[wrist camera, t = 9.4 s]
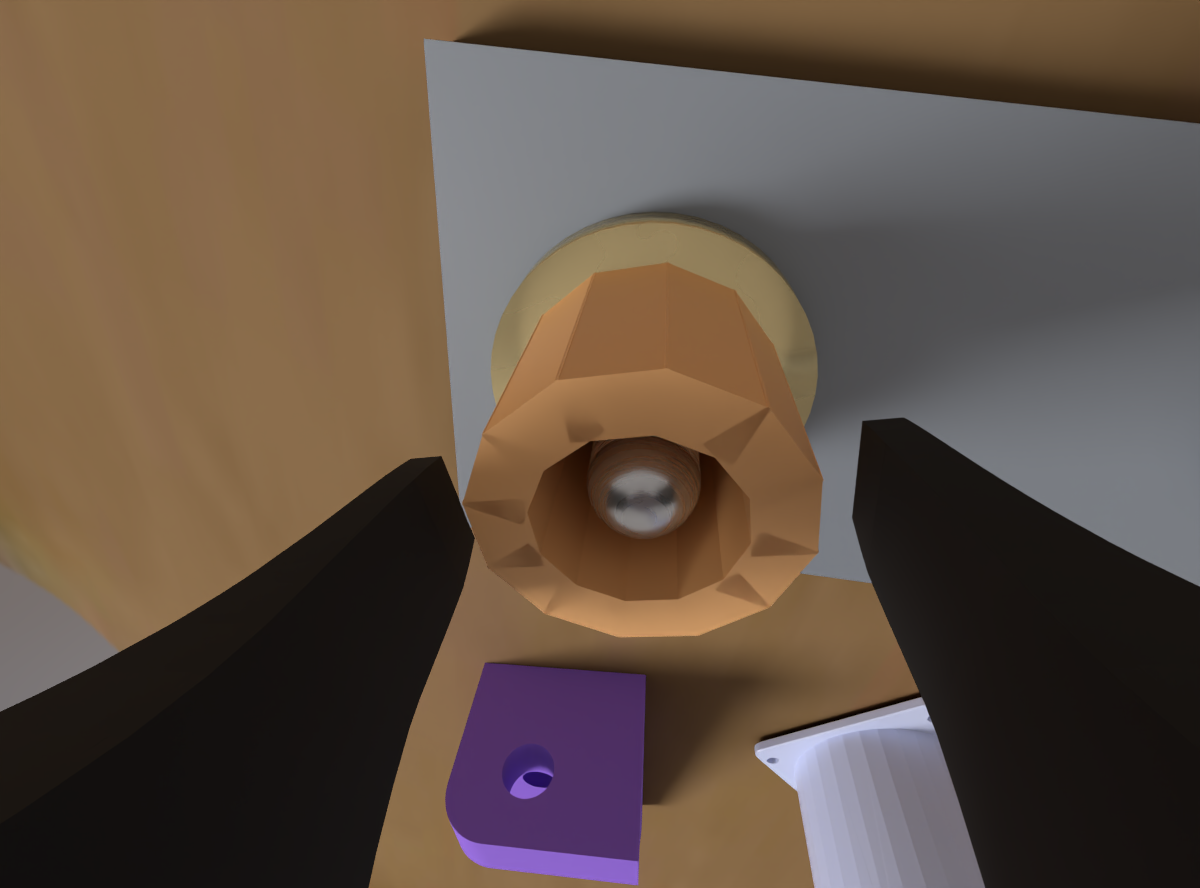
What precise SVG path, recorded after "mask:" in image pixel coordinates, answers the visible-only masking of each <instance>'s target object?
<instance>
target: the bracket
mask: <svg viewBox="0 0 1200 888" xmlns="http://www.w3.org/2000/svg"><path fill="white" fill-rule="evenodd" d="M645 688H646V675H641V674H628V673H614V672H601V671H588V670H575V669H561V668H548V667H535V666H522V665H508V664H495V663H485V665H484V668H483V671H482V675H481V678H480V681H479V684H478V688H477V691H476V694H475V697H474V701H473V704H472V707H471V710H470V713H469V717H468V720H467V723H466V726H465V730H464V733H463V736H462V739H461V743H460V746H459V749H458V752H457V756H456V759H455V762H454V765H453V769H452V772H451V775H450V778H449V782H448V785H447V790H446V799H445V800H446V811H447V815H448V818H449V820H450V823H451V825H452V827H453V829H454V832H455V834H456V836H457V839H458V841H459V843H460V846H461V848H462V849H463V851H464V852H465V854H466V855H467V856H468V857H469V858H470V859H471V860H472V861H474V862H475V863H477V864H479V865H481V866H484V867H488V868H495V869H504V870H512V871H521V872H529V873H538V874H547V875H555V876H564V877H572V878H581V879H589V880H598V881H606V882H615V883H623V884H632V885H638V870H639V845H640V837H641V826H642V797H643V761H644V725H645Z"/></svg>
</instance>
